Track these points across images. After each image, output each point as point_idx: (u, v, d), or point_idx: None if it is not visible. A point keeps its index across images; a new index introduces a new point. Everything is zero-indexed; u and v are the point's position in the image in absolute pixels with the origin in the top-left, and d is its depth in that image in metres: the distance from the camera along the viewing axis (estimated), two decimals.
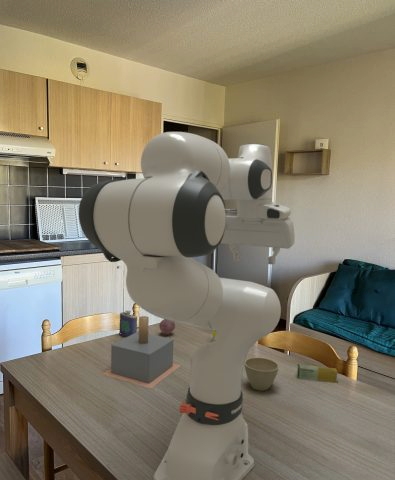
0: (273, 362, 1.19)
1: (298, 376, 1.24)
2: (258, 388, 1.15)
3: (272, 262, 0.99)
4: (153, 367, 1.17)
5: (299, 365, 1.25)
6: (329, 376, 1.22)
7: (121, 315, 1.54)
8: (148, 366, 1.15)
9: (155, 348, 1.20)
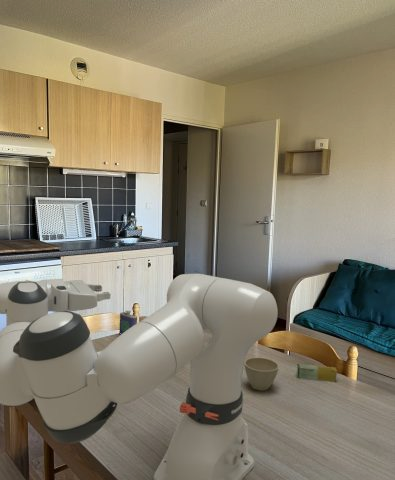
0: (273, 362, 1.19)
1: (298, 376, 1.24)
2: (258, 388, 1.15)
3: None
4: None
5: (299, 365, 1.25)
6: (329, 375, 1.23)
7: (121, 315, 1.54)
8: None
9: None
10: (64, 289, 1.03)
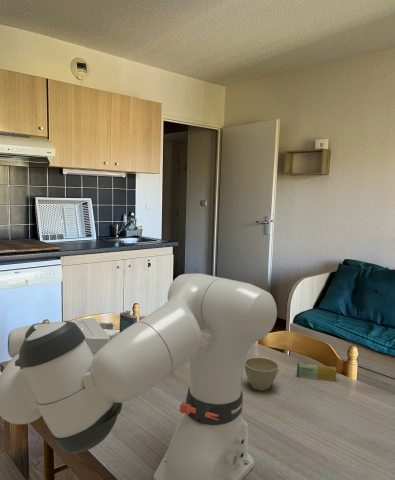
0: (273, 362, 1.19)
1: (298, 375, 1.25)
2: (258, 388, 1.15)
3: None
4: None
5: (299, 364, 1.26)
6: (329, 374, 1.23)
7: (121, 315, 1.54)
8: None
9: None
10: None
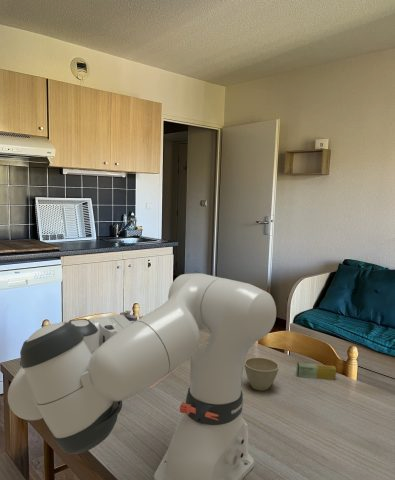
0: (273, 362, 1.19)
1: (298, 374, 1.25)
2: (258, 388, 1.15)
3: None
4: None
5: (298, 363, 1.26)
6: (329, 373, 1.24)
7: None
8: None
9: None
10: (112, 329, 1.11)
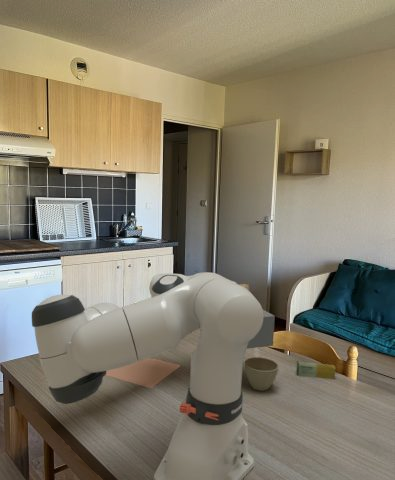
0: (273, 362, 1.19)
1: (297, 373, 1.26)
2: (258, 388, 1.15)
3: None
4: None
5: (298, 362, 1.27)
6: (328, 372, 1.24)
7: None
8: None
9: None
10: None
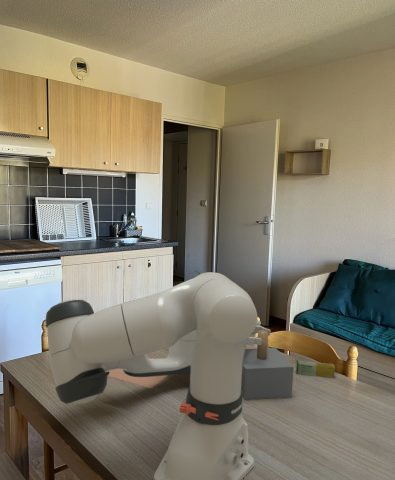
0: None
1: (297, 372, 1.27)
2: None
3: None
4: (251, 384, 1.09)
5: (298, 361, 1.28)
6: (327, 371, 1.25)
7: None
8: (244, 381, 1.09)
9: (261, 366, 1.10)
10: None
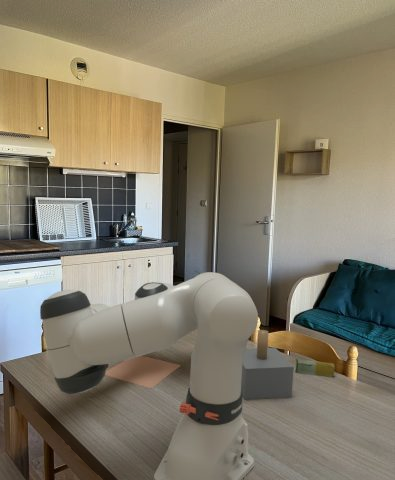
0: None
1: (296, 370, 1.28)
2: None
3: None
4: (251, 384, 1.09)
5: (298, 360, 1.29)
6: (327, 371, 1.26)
7: None
8: (244, 381, 1.09)
9: (261, 366, 1.10)
10: None
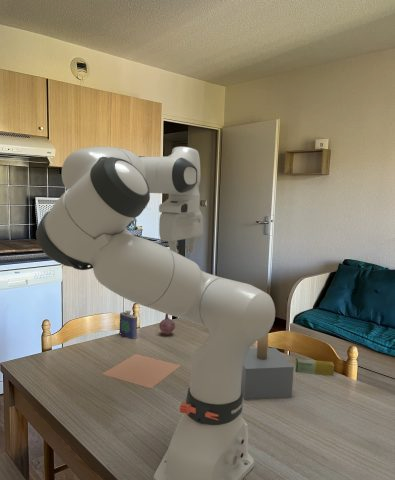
0: None
1: (296, 370, 1.28)
2: None
3: None
4: (251, 384, 1.09)
5: (297, 359, 1.29)
6: (327, 369, 1.27)
7: (121, 315, 1.54)
8: (244, 381, 1.09)
9: (261, 366, 1.10)
10: (181, 210, 1.04)
